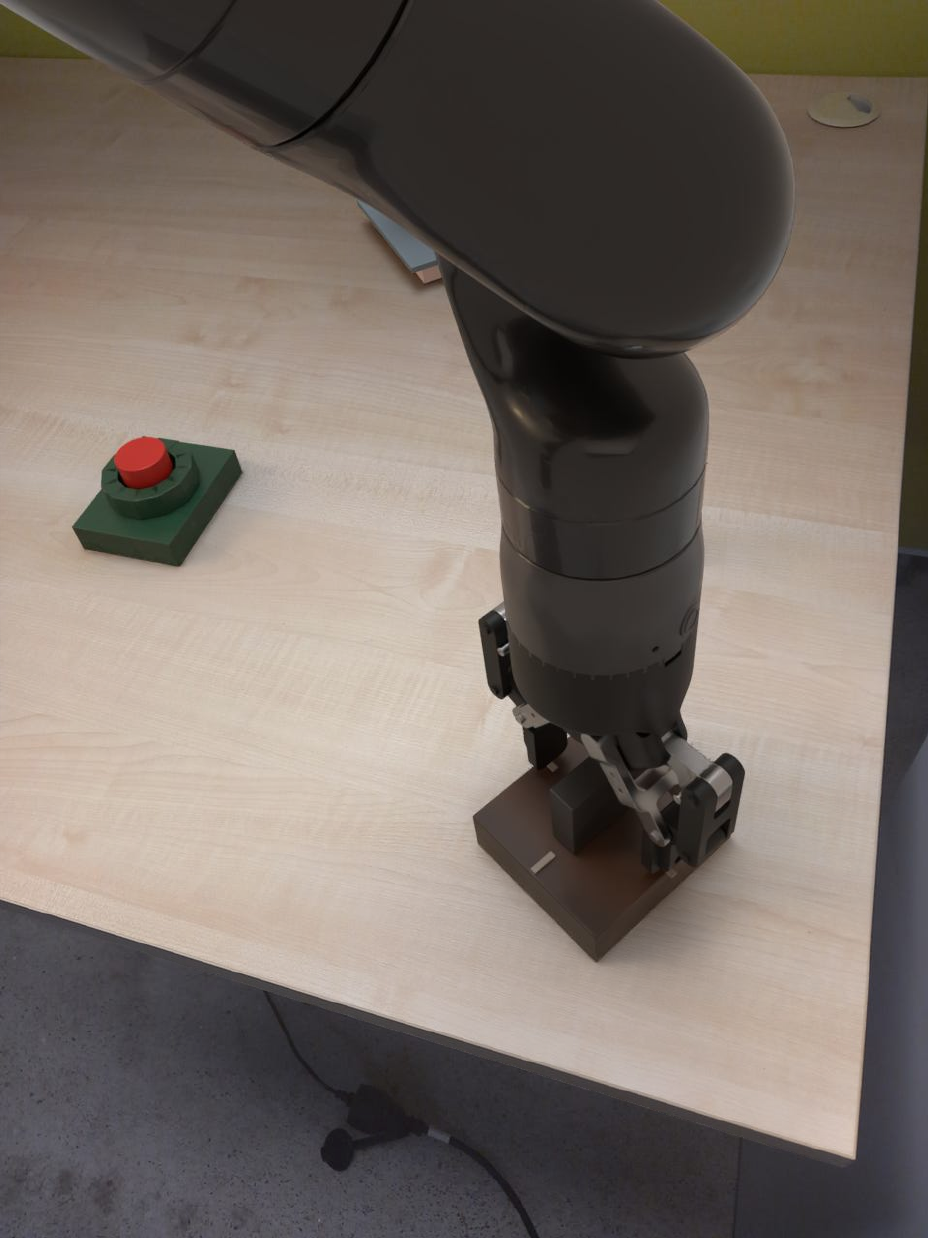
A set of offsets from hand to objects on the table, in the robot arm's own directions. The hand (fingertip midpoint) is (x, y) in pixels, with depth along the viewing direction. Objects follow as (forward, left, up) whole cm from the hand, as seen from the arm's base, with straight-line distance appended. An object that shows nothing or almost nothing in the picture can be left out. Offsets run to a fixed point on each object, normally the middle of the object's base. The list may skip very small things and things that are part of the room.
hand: (602, 805), depth 52 cm
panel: (0, 0, -4) cm, 4 cm away
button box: (-4, +41, -4) cm, 41 cm away
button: (-4, +41, 0) cm, 41 cm away
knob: (0, 0, -1) cm, 1 cm away
